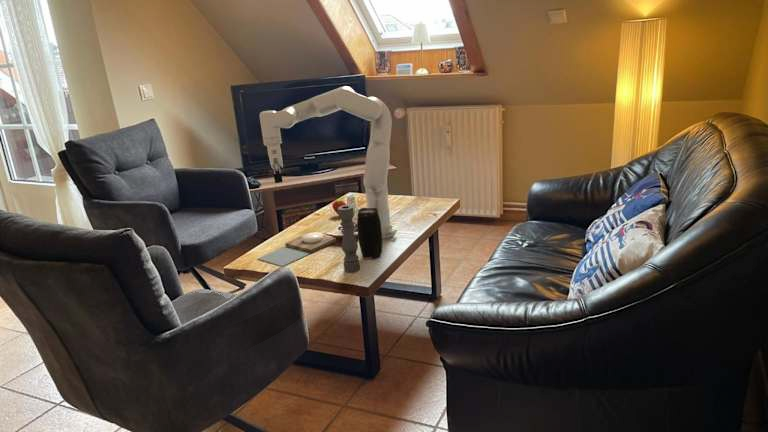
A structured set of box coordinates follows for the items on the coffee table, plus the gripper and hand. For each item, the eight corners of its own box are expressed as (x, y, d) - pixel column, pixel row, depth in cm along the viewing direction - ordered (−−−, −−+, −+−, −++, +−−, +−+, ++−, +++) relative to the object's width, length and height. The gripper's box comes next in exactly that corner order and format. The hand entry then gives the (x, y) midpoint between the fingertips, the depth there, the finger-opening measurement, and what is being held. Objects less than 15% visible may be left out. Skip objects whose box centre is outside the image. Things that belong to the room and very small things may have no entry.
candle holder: (344, 267, 215) (337, 205, 207) (360, 265, 215) (353, 204, 207) (344, 273, 209) (337, 210, 201) (360, 272, 209) (354, 208, 201)
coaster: (327, 237, 243) (327, 234, 242) (312, 244, 237) (312, 240, 236) (313, 234, 249) (312, 230, 248) (298, 241, 242) (297, 237, 242)
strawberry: (337, 213, 282) (335, 194, 279) (350, 214, 278) (347, 195, 275) (330, 217, 277) (328, 197, 274) (343, 218, 273) (341, 198, 270)
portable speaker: (358, 254, 226) (353, 208, 220) (380, 250, 228) (376, 205, 222) (363, 262, 218) (358, 214, 212) (386, 257, 220) (381, 211, 214)
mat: (310, 254, 231) (310, 253, 231) (282, 266, 220) (282, 265, 220) (285, 247, 241) (284, 246, 241) (257, 259, 230) (257, 258, 230)
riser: (336, 241, 242) (335, 238, 242) (311, 253, 232) (310, 249, 231) (310, 236, 252) (310, 232, 252) (285, 247, 242) (285, 243, 241)
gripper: (282, 142, 226) (288, 183, 231) (280, 136, 242) (285, 174, 247) (263, 145, 225) (270, 185, 230) (263, 138, 241) (268, 176, 246)
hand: (278, 179), depth 239 cm, fingers open, 9 cm apart
